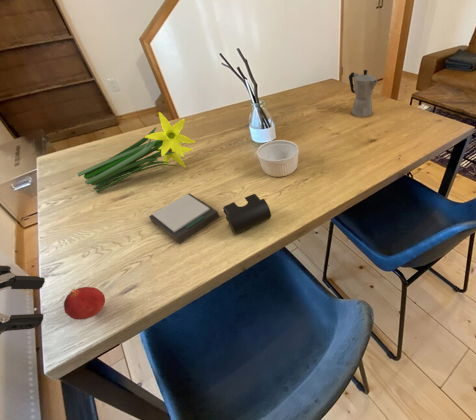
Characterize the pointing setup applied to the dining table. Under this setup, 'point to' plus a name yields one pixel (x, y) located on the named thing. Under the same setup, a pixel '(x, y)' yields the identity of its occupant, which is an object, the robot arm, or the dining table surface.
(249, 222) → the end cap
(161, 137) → the daffodil flowers
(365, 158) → the dining table surface
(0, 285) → the robot arm
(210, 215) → the kitchen scale
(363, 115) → the coffeepot
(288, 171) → the ramekin
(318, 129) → the dining table surface
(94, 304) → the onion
